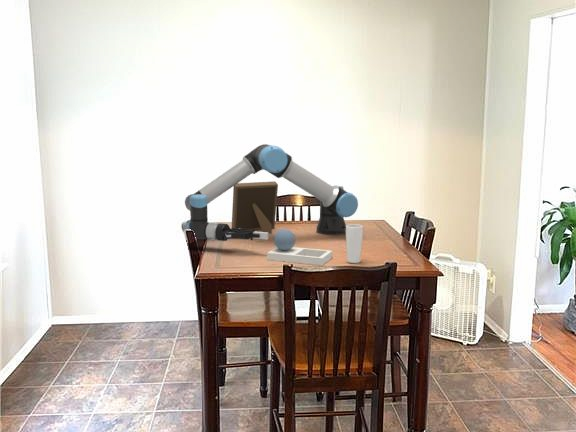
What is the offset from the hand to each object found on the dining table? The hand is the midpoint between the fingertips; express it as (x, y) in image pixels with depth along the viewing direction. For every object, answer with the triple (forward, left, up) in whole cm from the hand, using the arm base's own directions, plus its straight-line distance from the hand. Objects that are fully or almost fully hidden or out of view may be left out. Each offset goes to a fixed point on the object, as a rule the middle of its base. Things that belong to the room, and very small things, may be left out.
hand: (267, 236), depth 247 cm
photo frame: (-3, -49, -9) cm, 49 cm away
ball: (-6, +4, -1) cm, 8 cm away
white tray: (-12, +8, -8) cm, 17 cm away
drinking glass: (-32, +18, -9) cm, 38 cm away
